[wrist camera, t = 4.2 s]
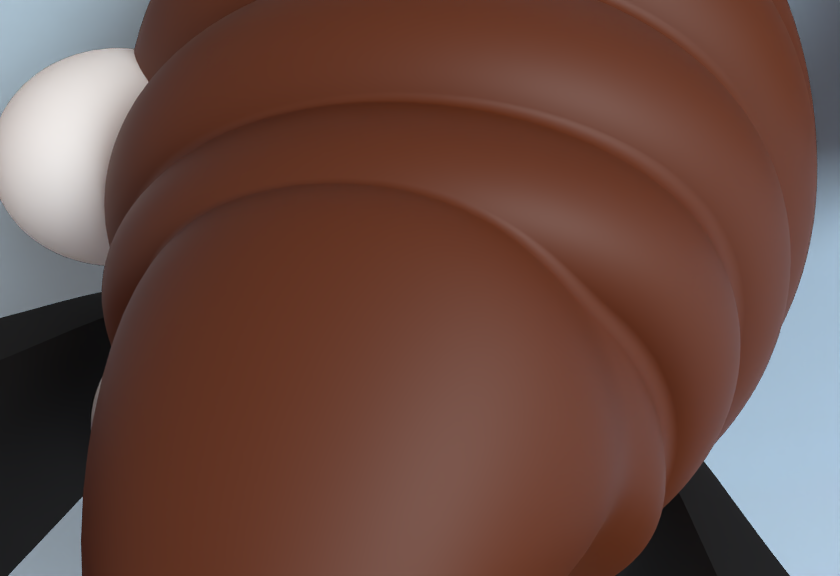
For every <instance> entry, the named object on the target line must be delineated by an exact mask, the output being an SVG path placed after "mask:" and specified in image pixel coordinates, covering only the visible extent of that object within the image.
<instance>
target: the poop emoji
mask: <svg viewBox="0 0 840 576" xmlns="http://www.w3.org/2000/svg"><path fill="white" fill-rule="evenodd" d="M816 191H817V145H816V129H815V117H814V109H813V101H812V94H811V88H810V82H809V76H808V72H807V67H806V62H805V58H804V54H803V50H802V46H801V42H800V38H799V35H798V32H797V28H796V25H795V22H794V19H793V16H792V13H791V10H790V7H789V4H788V1H787V0H150V3H149V5H148V7H147V10H146V13H145V16H144V19H143V21H142V24H141V27H140V30H139V34H138V37H137V41H136V45H135V49H129V48H108V49H99V50H92V51H87V52H83V53H79V54H76V55H73V56H70V57H67V58H65V59H62V60H60V61H58V62H56V63H54V64H52V65H50V66H48V67H47V68H45V69H43V70H42V71H40V72H39V73H37V74H36V75H35V76H33V77H32V78H31V79H30V80H29V81H27V82H26V83H25V84H24V85H23V86H22V87H21V88H20V89H19V90H18V91H17V93H16V94H15V95H14V96H13V97H12V99H11V100H10V101H9V103H8V104H7V106H6V108H5V109H4V111H3V113H2V115H1V117H0V199H1V201H2V203H3V205H4V207H5V208H6V210H7V211H8V213H9V214H10V216H11V217H12V218H13V220H14V221H15V222H16V223H17V224H18V226H19V227H20V228H21V229H22V230H23V231H24V232H25V233H27V234H28V235H29V236H30V237H31V238H32V239H34V240H35V241H37V242H38V243H39V244H41V245H43V246H44V247H46V248H48V249H50V250H52V251H53V252H55V253H57V254H60V255H62V256H64V257H67V258H70V259H73V260H77V261H80V262H84V263H89V264H95V265H103V266H104V272H103V279H102V308H103V315H104V321H105V326H106V330H107V334H108V338H109V341H110V344H111V349H110V352H109V356H108V359H107V363H106V366H105V370H104V373H103V377H102V379H101V381H100V383H99V385H98V387H97V389H96V391H95V393H94V396H93V399H92V403H91V408H90V430H91V434H90V440H89V446H88V454H87V462H86V471H85V480H84V489H83V508H82V533H81V554H82V576H615V575H617V574H618V573H620V572H621V571H622V570H624V569H625V568H626V567H627V566H628V565H629V564H631V563H632V562H633V561H634V560H635V559H636V558H637V557H638V556H639V554H640V553H641V552H642V551H643V550H644V548H645V547H646V545H647V544H648V543H649V541H650V539H651V538H652V536H653V534H654V532H655V530H656V527H657V525H658V522H659V519H660V516H661V513H662V509H663V508H664V507H665V506H666V505H667V504H668V503H669V502H670V501H671V500H672V499H673V498H674V497H675V496H676V495H677V494H678V493H679V492H680V490H681V489H682V488H683V487H684V486H685V485H686V484H687V482H688V481H689V480H690V479H691V478H692V476H693V475H694V474H695V472H696V471H697V470H698V468H699V467H700V466H701V464H702V463H703V461H704V460H705V458H706V457H707V455H708V454H709V452H710V450H711V449H712V447H713V445H714V444H715V443H716V442H717V440H718V439H719V438H720V437H721V436H722V435H723V434H724V432H725V431H726V430H727V429H728V427H729V426H730V425H731V424H732V422H733V421H734V420H735V418H736V417H737V416H738V414H739V413H740V412H741V410H742V409H743V407H744V406H745V404H746V403H747V401H748V400H749V398H750V396H751V395H752V393H753V391H754V390H755V388H756V386H757V385H758V383H759V381H760V379H761V377H762V375H763V373H764V371H765V369H766V367H767V365H768V362H769V360H770V357H771V355H772V353H773V350H774V348H775V345H776V342H777V339H778V336H779V333H780V329H781V326H782V324H783V322H784V320H785V318H786V315H787V313H788V311H789V308H790V306H791V304H792V301H793V299H794V296H795V293H796V291H797V288H798V285H799V282H800V279H801V276H802V273H803V269H804V265H805V262H806V258H807V254H808V249H809V245H810V240H811V234H812V229H813V223H814V215H815V205H816Z"/></svg>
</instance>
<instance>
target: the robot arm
mask: <svg viewBox="0 0 840 576" xmlns="http://www.w3.org/2000/svg"><path fill="white" fill-rule="evenodd" d="M110 349H111V344H110V341H109V338H108V334H107V330H106V326H105V321H104V315H103V308H102V292H100V293H95V294H91V295H86V296H82V297H78V298H74V299H70V300H66V301H62V302H58V303H55V304H51V305H47V306H44V307H40V308H36V309H32V310H29V311H25V312H21V313H18V314H14V315H10V316H7V317H3V318H0V576H8V575H9V574H10V573H11V572H12V571H13V570H14V569H15V568H16V566H17V565H18V564H19V563H20V562H21V561H22V560H23V559H24V558H25V557H26V556H27V555H28V554H29V553H30V552H31V551H32V550H33V548H34V547H35V546H36V545H37V544H38V543H39V542H40V541H41V540H42V539H43V538H44V537H45V536H46V535H47V534H48V533H49V532H50V530H51V529H52V528H53V527H54V526H55V525H56V524H57V523H58V522H59V521H60V520H61V519H62V518H63V517H64V516H65V515H66V514H67V512H68V511H69V510H70V509H71V508H72V507H73V506H74V505H75V504H76V503H77V502H78V501H79V500H80V499H81V497H82V496H83V489H84V480H85V471H86V462H87V454H88V446H89V440H90V434H91V430H90V408H91V403H92V399H93V396H94V393H95V391H96V389H97V387H98V385H99V383H100V381H101V379H102V377H103V373H104V370H105V366H106V363H107V359H108V356H109V352H110ZM615 576H790V575H789V574H788V573H787V572H786V570H785V569H784V568H783V566H782V565H781V564H780V563H779V561H778V560H777V559H776V557H775V556H774V555H773V553H772V552H771V551H770V550H769V548H768V547H767V546H766V544H765V543H764V542H763V540H762V539H761V538H760V536H759V535H758V534H757V532H756V531H755V530H754V528H753V527H752V526H751V524H750V523H749V521H748V520H747V519H746V517H745V516H744V515H743V513H742V512H741V511H740V509H739V508H738V506H737V505H736V504H735V502H734V501H733V500H732V498H731V497H730V496H729V494H728V493H727V491H726V490H725V489H724V487H723V486H722V485H721V483H720V482H719V481H718V479H717V478H716V477H715V475H714V474H713V473H712V471H711V470H710V469H709V467H708V466H707V465H706V464H705V462H704V461H703V463H702V464H701V466H700V467H699V468H698V470H697V471H696V472H695V474H694V475H693V476H692V478H691V479H690V480H689V481H688V482H687V484H686V485H685V486H684V487H683V488H682V489H681V490H680V492H679V493H678V494H677V495H676V496H675V497H674V498H673V499H672V500H671V501H670V502H669V503H668V504H667V505H666V506H665V507H664V508H663V509H662V513H661V516H660V519H659V522H658V525H657V527H656V530H655V532H654V534H653V536H652V538H651V539H650V541H649V543H648V544H647V545H646V547H645V548H644V550H643V551H642V552H641V553H640V554H639V556H638V557H637V558H636V559H635V560H634V561H633V562H632V563H631V564H629V565H628V566H627V567H626V568H625V569H624V570H622V571H621V572H620V573H618V574H617V575H615Z"/></svg>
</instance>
